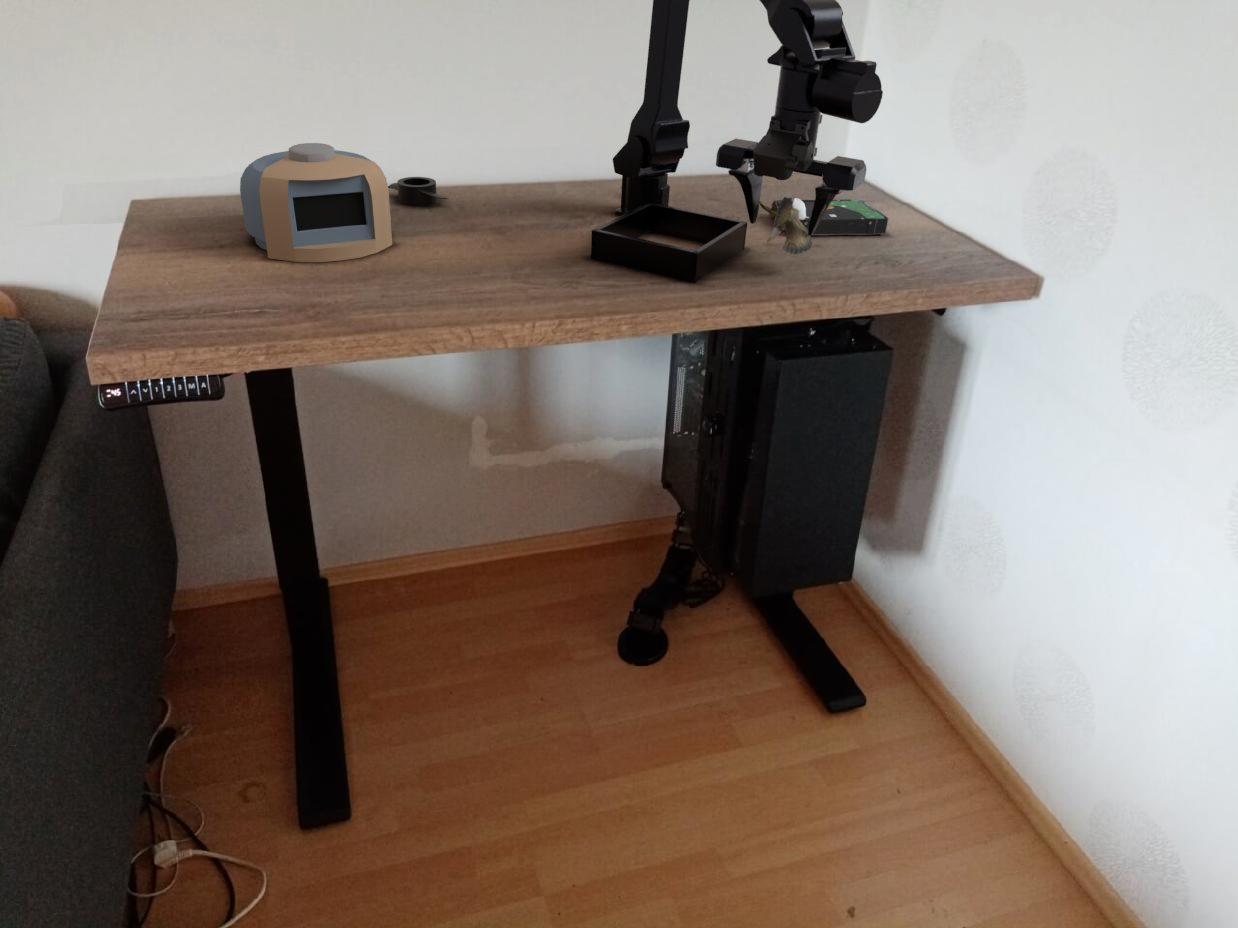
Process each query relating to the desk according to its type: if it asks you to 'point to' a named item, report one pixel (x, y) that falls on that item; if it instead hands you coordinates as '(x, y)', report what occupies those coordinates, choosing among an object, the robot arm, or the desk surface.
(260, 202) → the alarm clock
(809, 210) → the disk drive
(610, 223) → the desk tidy
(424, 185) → the duct tape
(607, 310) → the desk surface
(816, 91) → the robot arm
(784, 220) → the eagle figurine
